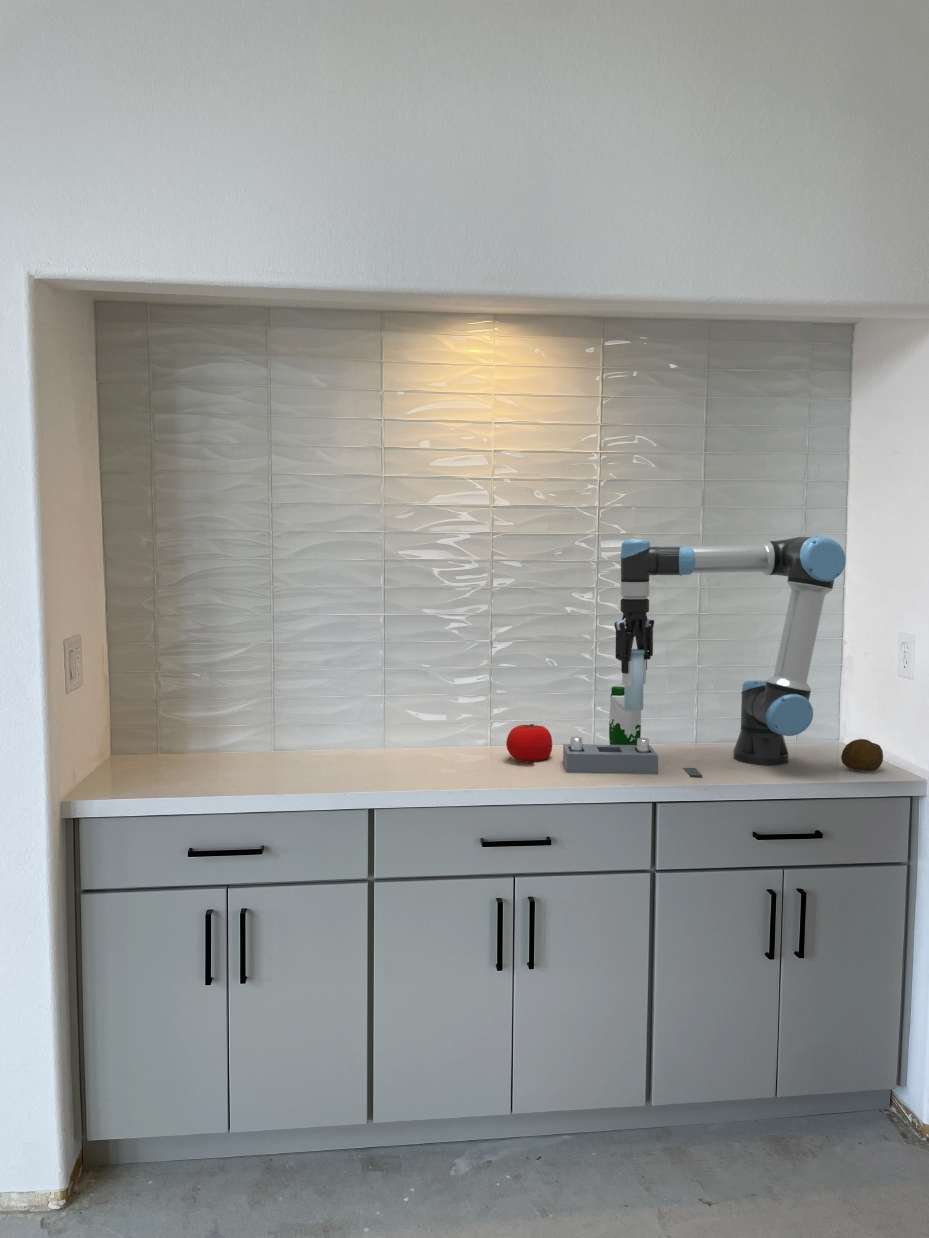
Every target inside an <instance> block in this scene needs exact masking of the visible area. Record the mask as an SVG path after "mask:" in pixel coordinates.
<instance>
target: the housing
mask: <svg viewBox="0 0 929 1238" xmlns="http://www.w3.org/2000/svg"><path fill="white" fill-rule="evenodd" d="M562 745H563V746H562V747H563V748H562V763H563V767H564V768H565V772H566V773H568V774H573V773H574V774H619V775H620V774H622V775H658V773H659V771H658V769H659V755H658V753H657V752H656V751H655V750H654V748H653V747H652V746H651V745H650V744H649V753H637V745H610V744H590V743H587V744H585V743H584V744H583V743H582V752H571V751H570V743H563V744H562Z"/></svg>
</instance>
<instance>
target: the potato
mask: <svg viewBox="0 0 929 1238" xmlns="http://www.w3.org/2000/svg"><path fill="white" fill-rule="evenodd" d="M883 751H884V750H883V749H882V748H881V746H880V744H878V743H875V742H872V741H871V740H868V739H865V738H859V739H854V740H851V741H850V742H848V743H847V744H846V745H845V747H844V748H843V749H842V752H841V755H840V758H841V759H840V760H841V763H842V764H843V765H844V766H845V767H846V768H848V769H852V770H855V771H864V772H871V771H872V772H873V771H876V770H878V769H879V768H880V767H881V766H882V764H883V762H884V752H883Z"/></svg>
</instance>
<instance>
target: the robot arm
mask: <svg viewBox="0 0 929 1238" xmlns="http://www.w3.org/2000/svg"><path fill="white" fill-rule="evenodd" d="M650 543H651V542H650V540H648V539H626V540H623V541H622V543H621V548H620V549H621V550H620V596H621V597H622V598H621V599H620V612H621V613H622V617H621V620H620V621H616V622H614V629H615V630H614V631H615V659H616V660H618V661H619V662H621V668H620V669H621V670H620V671H621V674H622V681H621V682H622V683H621V685H622V686H625V685H626V686H632V661H630V656H631V651H632V649H633V644H634V638H635V641H636V649H643V650H645V652H644V680H643V685H645V684H646V683H647V669H648V660H651V659H652V656H653V654H654V626H655V620H654V619H648V616H647V614H648V613H649V611H650V599H649V598H648V597H649V596H650V576H680V577H681V576H689V575H692V574H696V573H697V574H699V573H700V574H701V573H703V574H706V573H707V574H708V573H753V572H754V573H756V572H757V573H759V572H760V573H763V574H764V575H765V576H782V577H787V580H786V584H788V586H789V587H790V589H791V592H790V595H789V601H788V604H787V605H788V606H787V611H786V615H785V620H784V624H783V629H782V634H781V640H780V644H779V648H778V654H777V659H776V664H775V669H774V673H773V675H772V676H771V677H769V678H767V679H766V680H746V681H743V683H742V686H741V687H742V688H741V689H742V690H741V692H740V693H741V705H740V706H741V713H740V714H741V715H740V732H739V735H738V738H737V740H736V743H735V744H734V747H733V755H732V756H733V758H734V759H735V760H737V761H739V762H743V763H746V764H752V765H760V766H761V765H762V766H779V765H785V764H788V762H789V756H790V755H789V750H788V747H787V744H786V741H785V737H784V736H786V737H792V736H793V737H795V736H797V735H800V734H801V733H803V732H805V731H806V730H807V729H808V728H809V727H810V725H811V724H812V721H813V720H814V719H813V718H814V708H813V706H812V704H811V702H810V696H811V692H812V691H811V690H812V689H811V687H810V685H809V684H808V677H809V671H810V666H811V662H812V659H813V653H814V649H815V644H816V639H817V633H818V630H819V624H820V620H821V616H822V611H823V605H824V603H825V602H824V601H825V596H826V595H828V594H829V593H830V592H832V590H833V589H834V588H833V587H834V584H835V579H837V578H838V577H839V576H841V574H843V572H844V570H845V567H846V561H847V559H846V553H845V551H844V549H843V548H842V546H841V544H840V543H839V542H837V540H835V539H832V538H829V537H827V536H821V535H820V536H819V535H814V536H798V537H793V538H788V539H787V538H786V539H779V540H770V541H769V540H768V541H767V540H766V541H764V542H763V543H762V544H744V545H743V544H740V545H739V544H737V545H698V546H697V545H696V546H695V545H693V546H691V545H690V546H688V545H687V546H651V544H650ZM625 655H626V656H625Z"/></svg>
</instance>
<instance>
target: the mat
mask: <svg viewBox="0 0 929 1238" xmlns="http://www.w3.org/2000/svg"><path fill="white" fill-rule="evenodd" d="M682 769H683V771H684V772H685V774H687V775H688V776H689V778H699V779H701V778H703V775H702V773H701V772H700V771H699V770H698V769H697V768H696V767H682Z"/></svg>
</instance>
